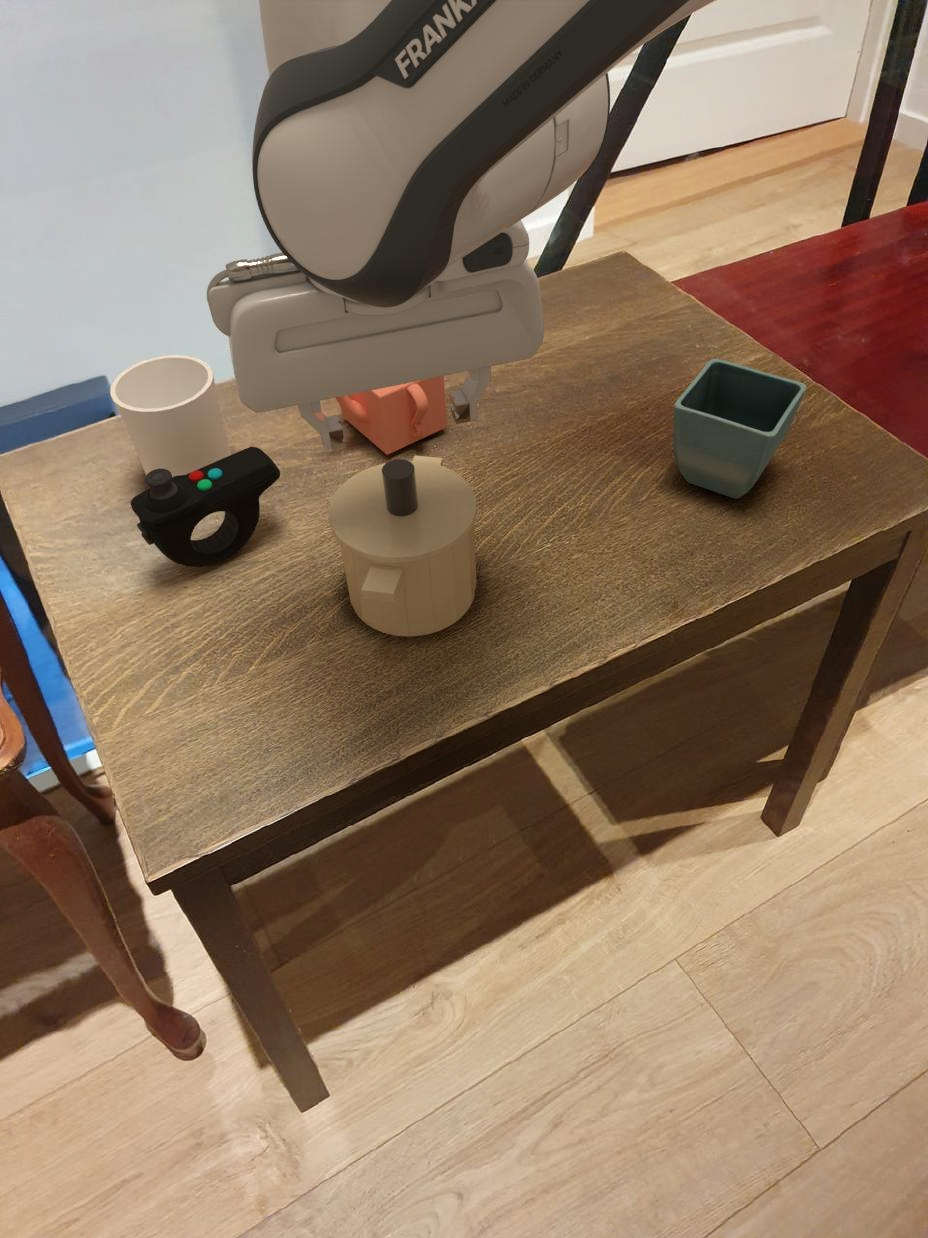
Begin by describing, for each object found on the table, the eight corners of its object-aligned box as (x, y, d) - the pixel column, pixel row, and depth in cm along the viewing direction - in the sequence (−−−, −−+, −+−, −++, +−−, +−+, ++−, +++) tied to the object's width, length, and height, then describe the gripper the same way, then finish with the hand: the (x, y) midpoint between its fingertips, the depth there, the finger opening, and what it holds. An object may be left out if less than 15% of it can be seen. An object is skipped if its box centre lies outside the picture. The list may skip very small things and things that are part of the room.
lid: (489, 479, 71) (488, 430, 67) (460, 577, 64) (457, 528, 60) (354, 466, 73) (346, 417, 69) (311, 559, 65) (300, 510, 62)
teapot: (300, 427, 90) (285, 353, 84) (422, 375, 96) (416, 302, 90) (362, 485, 83) (350, 410, 77) (489, 425, 89) (488, 350, 83)
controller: (151, 568, 77) (113, 477, 70) (275, 507, 82) (252, 416, 74) (173, 596, 75) (136, 504, 67) (299, 531, 79) (278, 439, 72)
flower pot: (785, 466, 83) (809, 382, 76) (751, 520, 78) (774, 436, 72) (696, 438, 86) (712, 355, 80) (658, 488, 82) (672, 405, 75)
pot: (491, 533, 78) (490, 455, 72) (454, 671, 68) (448, 593, 62) (378, 520, 80) (367, 443, 74) (324, 653, 70) (305, 576, 63)
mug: (255, 479, 85) (230, 385, 77) (169, 518, 81) (134, 424, 74) (204, 427, 91) (177, 335, 83) (122, 462, 87) (85, 369, 80)
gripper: (202, 293, 49) (258, 490, 59) (555, 229, 52) (550, 427, 62) (194, 244, 53) (247, 436, 63) (520, 188, 56) (521, 379, 66)
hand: (399, 431), depth 63 cm, fingers open, 8 cm apart
